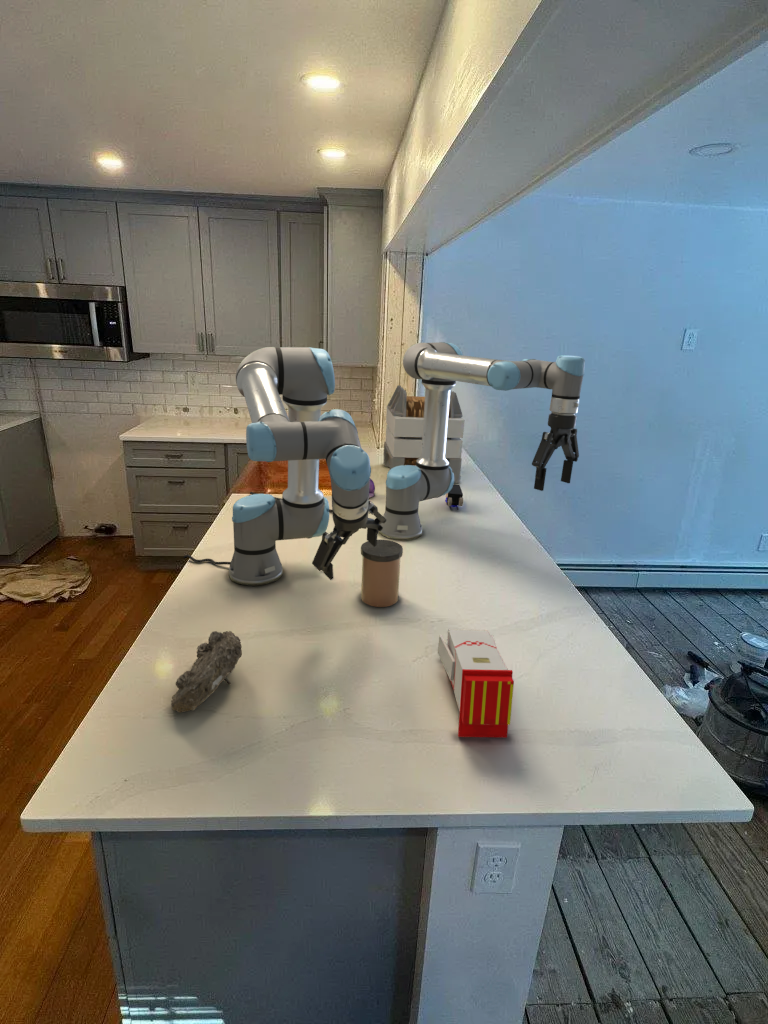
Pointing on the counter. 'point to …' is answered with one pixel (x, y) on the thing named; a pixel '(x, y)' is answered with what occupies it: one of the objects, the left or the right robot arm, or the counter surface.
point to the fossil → (207, 670)
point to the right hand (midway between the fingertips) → (552, 485)
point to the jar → (380, 582)
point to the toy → (478, 682)
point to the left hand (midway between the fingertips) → (350, 558)
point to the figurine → (371, 488)
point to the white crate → (419, 431)
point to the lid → (382, 551)
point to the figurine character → (454, 497)
